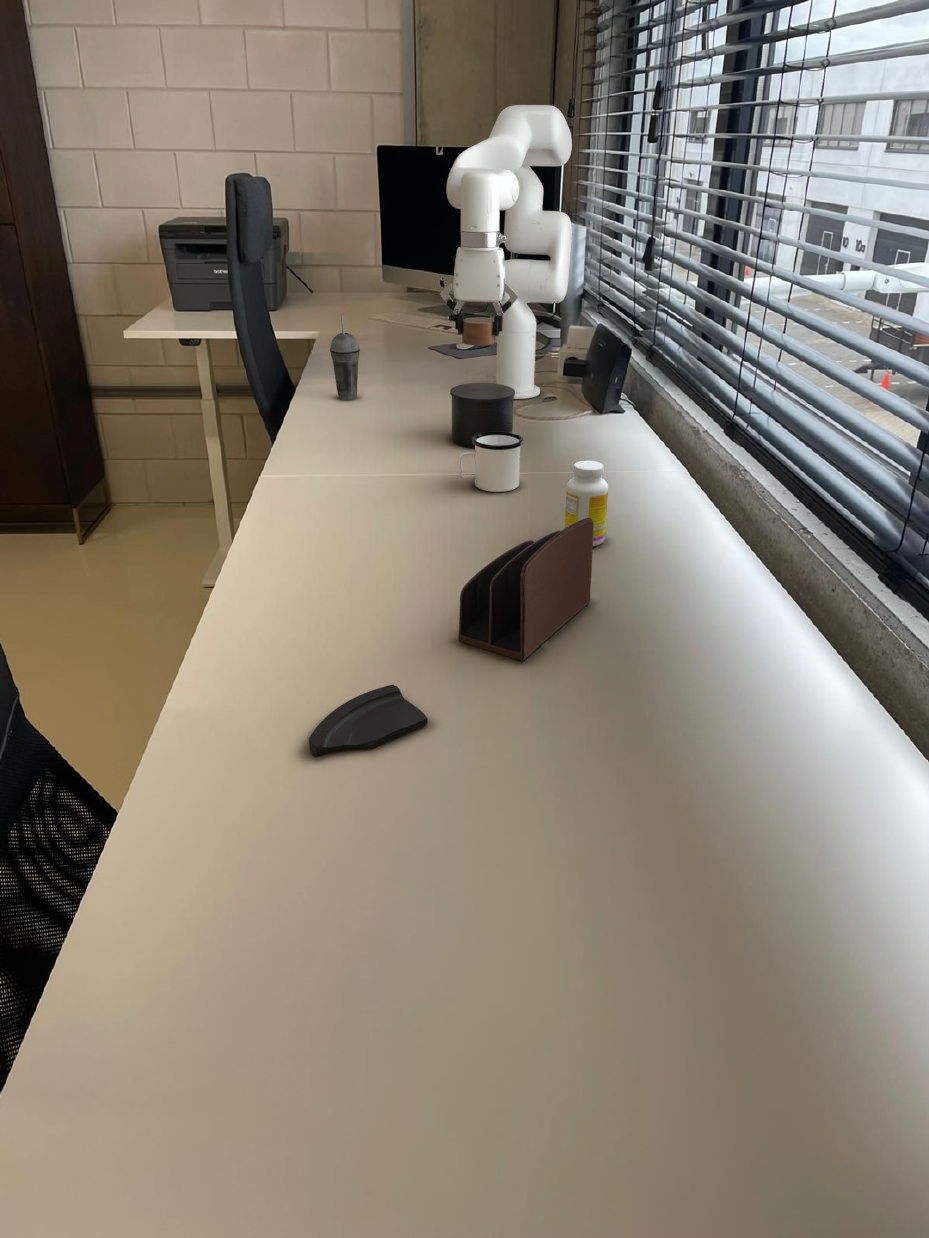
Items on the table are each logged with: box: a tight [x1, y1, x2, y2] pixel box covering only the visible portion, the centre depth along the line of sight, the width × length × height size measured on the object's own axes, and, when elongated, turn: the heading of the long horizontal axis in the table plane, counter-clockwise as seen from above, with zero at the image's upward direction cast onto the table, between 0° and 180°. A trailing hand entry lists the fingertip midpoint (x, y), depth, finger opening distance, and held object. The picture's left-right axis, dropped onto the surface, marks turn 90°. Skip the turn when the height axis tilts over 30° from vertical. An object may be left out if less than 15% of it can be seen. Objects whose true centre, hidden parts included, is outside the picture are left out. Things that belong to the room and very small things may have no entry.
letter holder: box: [458, 517, 594, 662], centre depth 126 cm, size 10×20×14 cm, turn 148°
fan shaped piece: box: [308, 684, 429, 758], centre depth 106 cm, size 8×14×2 cm, turn 125°
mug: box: [458, 431, 524, 493], centre depth 176 cm, size 12×9×9 cm
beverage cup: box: [329, 314, 361, 401], centre depth 228 cm, size 7×7×20 cm
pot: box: [449, 382, 515, 450], centre depth 200 cm, size 14×14×11 cm
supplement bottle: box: [564, 460, 609, 547], centre depth 152 cm, size 7×7×13 cm
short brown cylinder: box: [461, 316, 496, 347], centre depth 193 cm, size 7×7×4 cm
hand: (478, 333), depth 194 cm, fingers closed on short brown cylinder, 6 cm apart
